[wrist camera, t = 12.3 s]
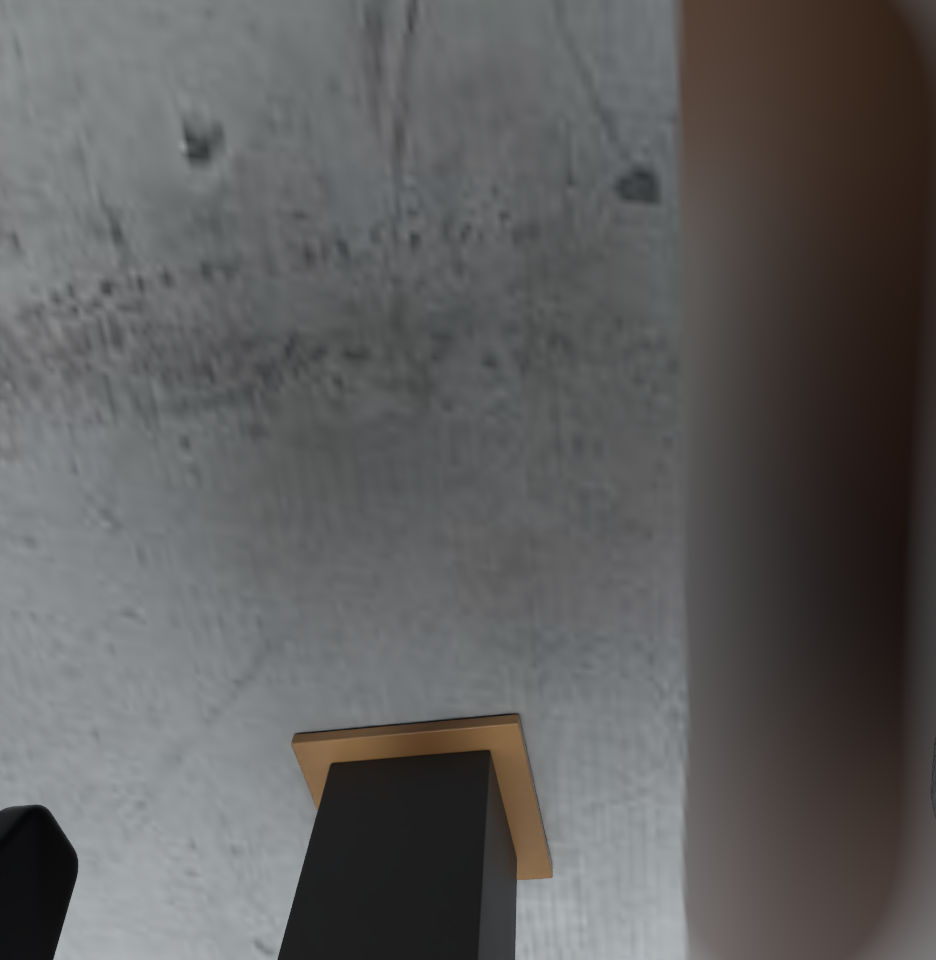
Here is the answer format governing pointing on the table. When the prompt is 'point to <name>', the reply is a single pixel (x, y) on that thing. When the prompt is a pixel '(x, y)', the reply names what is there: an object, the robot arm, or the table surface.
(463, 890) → the black rectangular block
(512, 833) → the coaster
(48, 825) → the robot arm
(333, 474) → the table surface
